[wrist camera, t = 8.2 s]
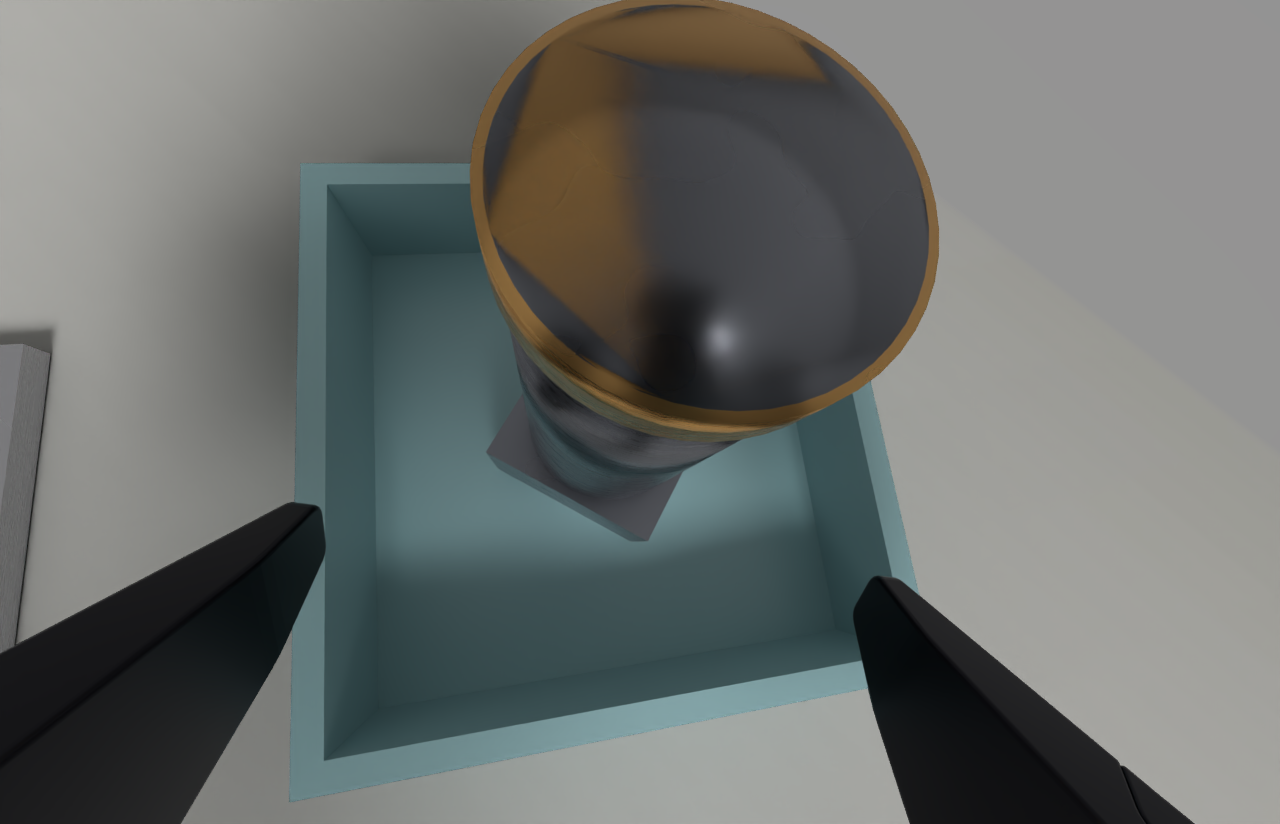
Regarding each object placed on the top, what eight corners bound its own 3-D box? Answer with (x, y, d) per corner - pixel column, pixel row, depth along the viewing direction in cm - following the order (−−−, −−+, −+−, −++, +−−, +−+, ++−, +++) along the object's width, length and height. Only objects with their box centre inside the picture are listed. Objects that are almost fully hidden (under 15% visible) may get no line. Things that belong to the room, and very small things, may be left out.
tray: (847, 643, 16) (937, 674, 13) (361, 730, 14) (289, 802, 10) (768, 237, 20) (820, 163, 16) (357, 248, 17) (300, 162, 13)
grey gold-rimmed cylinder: (630, 541, 16) (848, 538, 4) (498, 469, 15) (339, 255, 4) (695, 414, 17) (1003, 138, 5) (573, 347, 17) (618, -87, 5)
